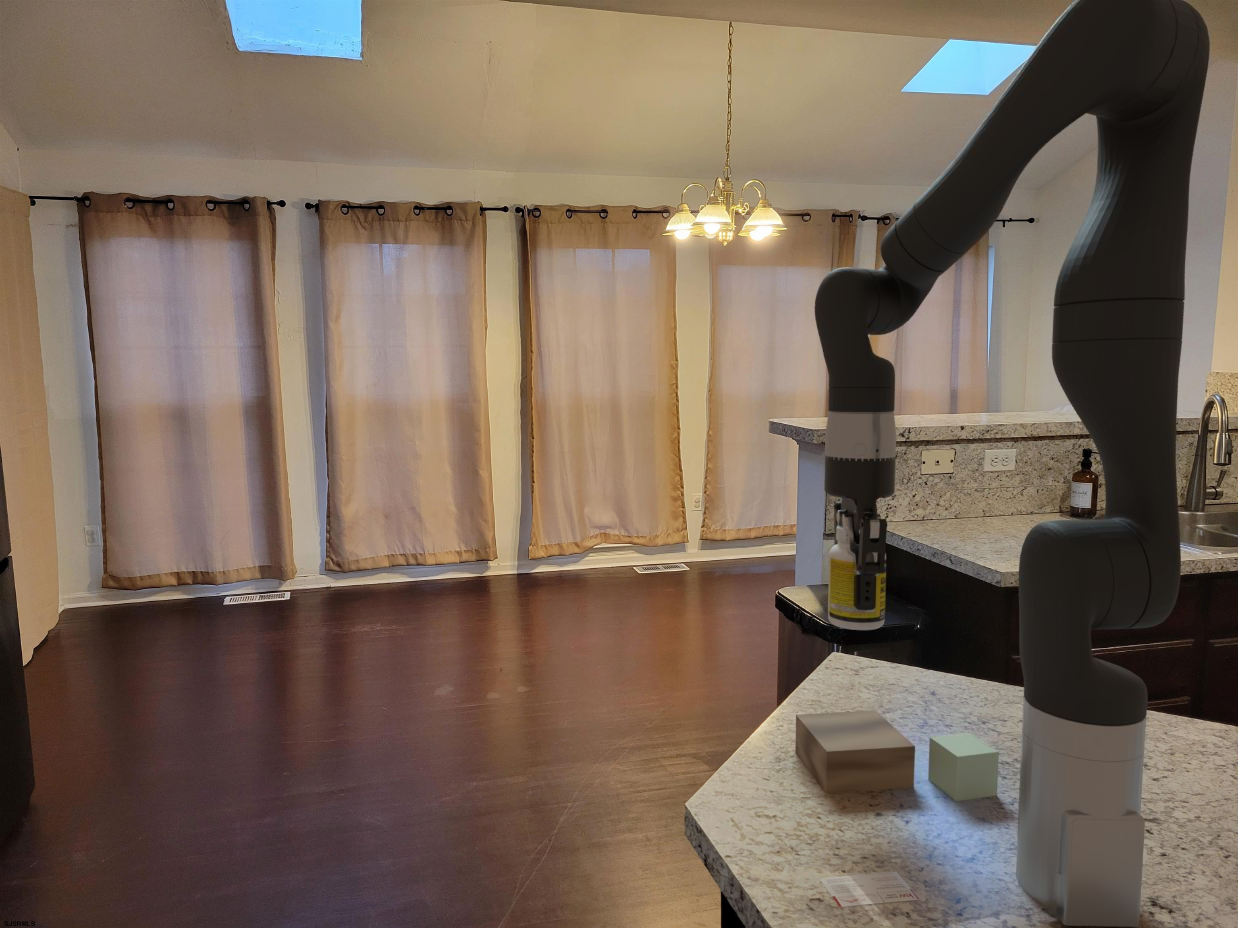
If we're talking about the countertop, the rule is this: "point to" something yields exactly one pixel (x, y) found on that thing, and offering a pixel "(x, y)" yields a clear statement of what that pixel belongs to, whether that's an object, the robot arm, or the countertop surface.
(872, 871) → the countertop surface
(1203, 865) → the countertop surface
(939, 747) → the sage cube
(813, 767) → the walnut block
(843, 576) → the pill bottle
